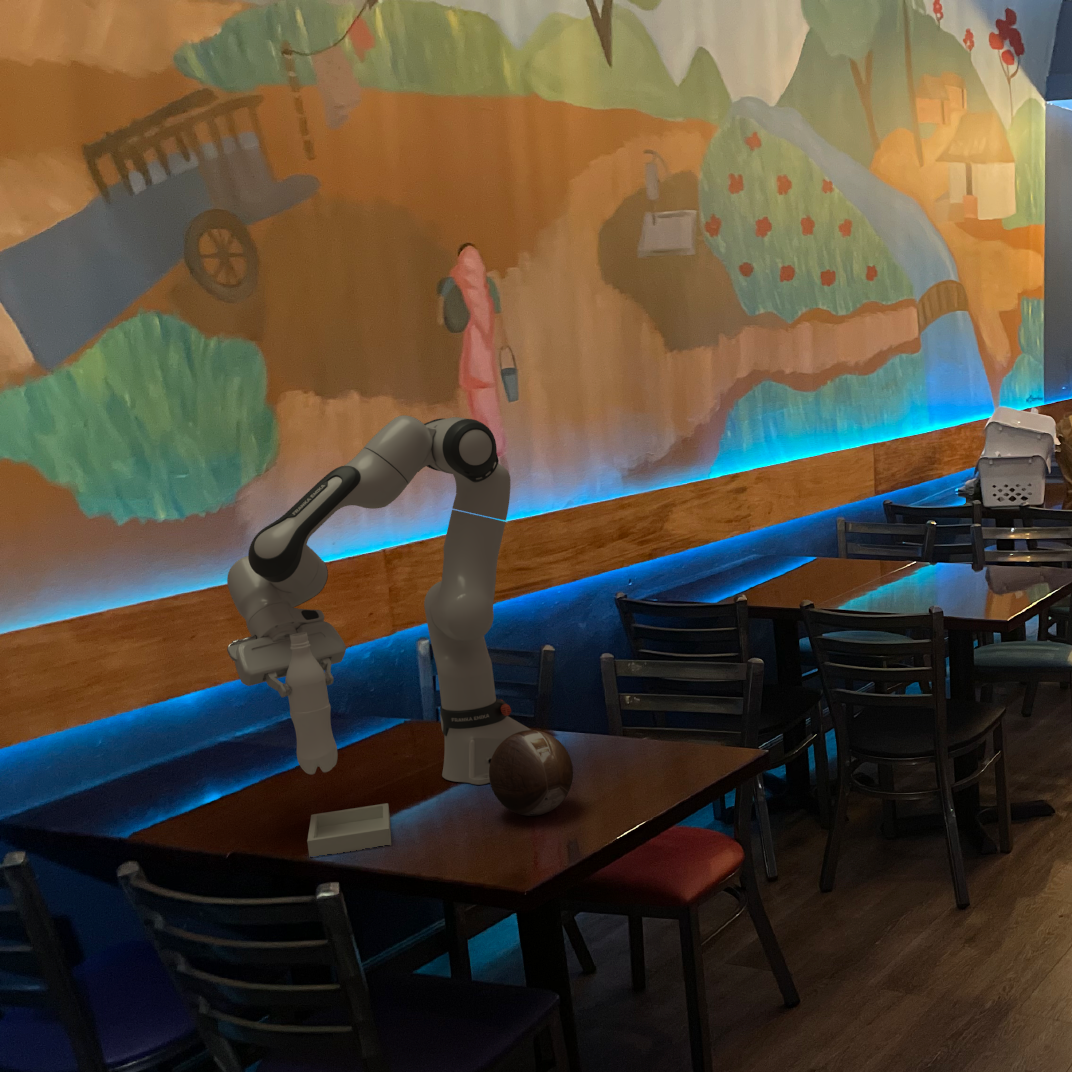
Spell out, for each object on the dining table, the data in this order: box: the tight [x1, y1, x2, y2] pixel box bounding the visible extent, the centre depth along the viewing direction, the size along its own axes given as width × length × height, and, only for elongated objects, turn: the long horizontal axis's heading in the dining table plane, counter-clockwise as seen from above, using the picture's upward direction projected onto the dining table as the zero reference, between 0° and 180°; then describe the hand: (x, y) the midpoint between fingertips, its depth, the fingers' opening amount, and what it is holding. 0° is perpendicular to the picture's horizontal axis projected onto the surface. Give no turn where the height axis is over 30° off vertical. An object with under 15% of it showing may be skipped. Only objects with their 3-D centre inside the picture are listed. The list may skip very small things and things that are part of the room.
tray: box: [306, 802, 392, 858], centre depth 214 cm, size 14×14×3 cm
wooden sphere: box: [489, 729, 574, 817], centre depth 216 cm, size 15×15×15 cm
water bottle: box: [284, 632, 339, 775], centre depth 216 cm, size 7×7×25 cm
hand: (308, 688), depth 215 cm, fingers closed on water bottle, 7 cm apart
